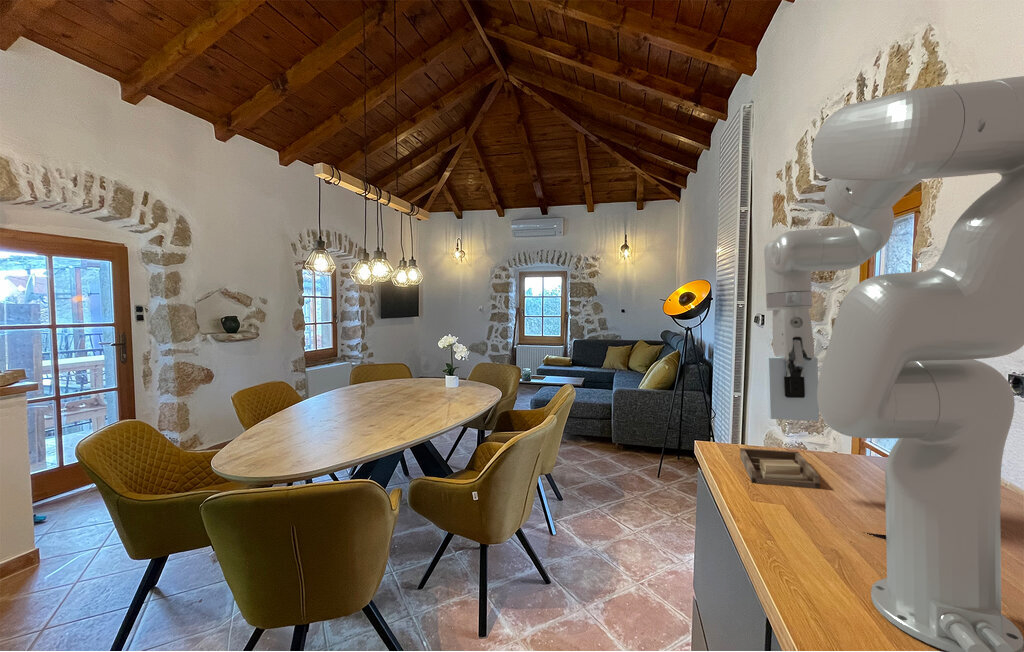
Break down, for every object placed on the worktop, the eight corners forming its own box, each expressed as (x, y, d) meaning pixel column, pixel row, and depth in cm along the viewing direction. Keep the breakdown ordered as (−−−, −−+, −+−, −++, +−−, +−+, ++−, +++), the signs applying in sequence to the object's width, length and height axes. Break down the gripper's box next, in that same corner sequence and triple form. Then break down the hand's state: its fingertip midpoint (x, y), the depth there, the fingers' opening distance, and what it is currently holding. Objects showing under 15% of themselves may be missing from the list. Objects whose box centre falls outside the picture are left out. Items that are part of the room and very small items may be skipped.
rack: (820, 493, 84) (819, 476, 84) (752, 487, 88) (751, 470, 88) (798, 466, 98) (798, 451, 98) (740, 462, 102) (740, 448, 102)
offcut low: (803, 484, 86) (803, 476, 86) (764, 481, 89) (764, 473, 88) (798, 478, 89) (798, 469, 89) (760, 475, 92) (760, 467, 92)
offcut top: (800, 474, 87) (799, 466, 87) (765, 473, 88) (765, 465, 88) (792, 468, 90) (792, 460, 90) (759, 467, 91) (759, 459, 91)
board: (819, 420, 80) (817, 357, 80) (770, 418, 83) (768, 358, 83) (815, 418, 82) (813, 356, 82) (768, 416, 85) (766, 357, 85)
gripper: (825, 299, 73) (830, 404, 73) (799, 302, 88) (803, 389, 88) (776, 301, 76) (780, 403, 76) (758, 304, 91) (762, 389, 91)
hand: (792, 395), depth 82 cm, fingers closed on board, 2 cm apart
